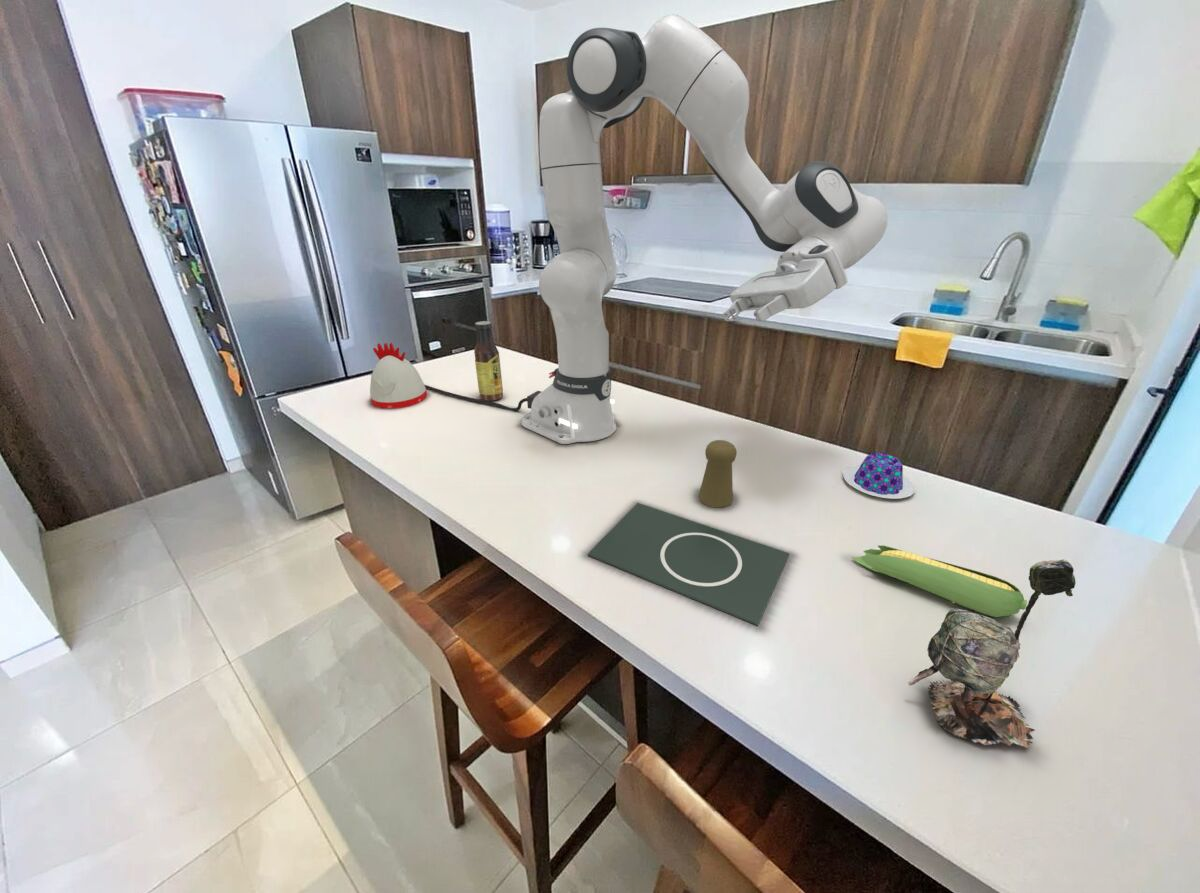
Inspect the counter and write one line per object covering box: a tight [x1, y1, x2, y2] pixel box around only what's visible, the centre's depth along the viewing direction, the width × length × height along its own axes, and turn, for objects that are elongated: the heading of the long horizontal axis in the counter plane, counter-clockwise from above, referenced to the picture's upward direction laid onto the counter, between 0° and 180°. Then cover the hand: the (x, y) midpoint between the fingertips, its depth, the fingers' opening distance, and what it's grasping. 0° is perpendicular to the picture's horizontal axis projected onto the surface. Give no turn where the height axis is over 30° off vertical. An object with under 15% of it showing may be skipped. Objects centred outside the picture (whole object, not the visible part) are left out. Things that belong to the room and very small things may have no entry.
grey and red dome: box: [369, 342, 428, 409], centre depth 129 cm, size 14×14×15 cm
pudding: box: [842, 452, 916, 500], centre depth 91 cm, size 12×12×5 cm
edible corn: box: [851, 545, 1028, 619], centre depth 68 cm, size 5×20×5 cm, turn 54°
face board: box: [587, 502, 790, 627], centre depth 75 cm, size 26×16×1 cm, turn 58°
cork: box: [698, 439, 738, 509], centre depth 87 cm, size 6×6×11 cm
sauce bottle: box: [473, 320, 504, 402], centre depth 128 cm, size 7×6×20 cm
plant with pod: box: [907, 559, 1077, 749], centre depth 48 cm, size 8×11×20 cm
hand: (741, 317), depth 83 cm, fingers open, 8 cm apart
